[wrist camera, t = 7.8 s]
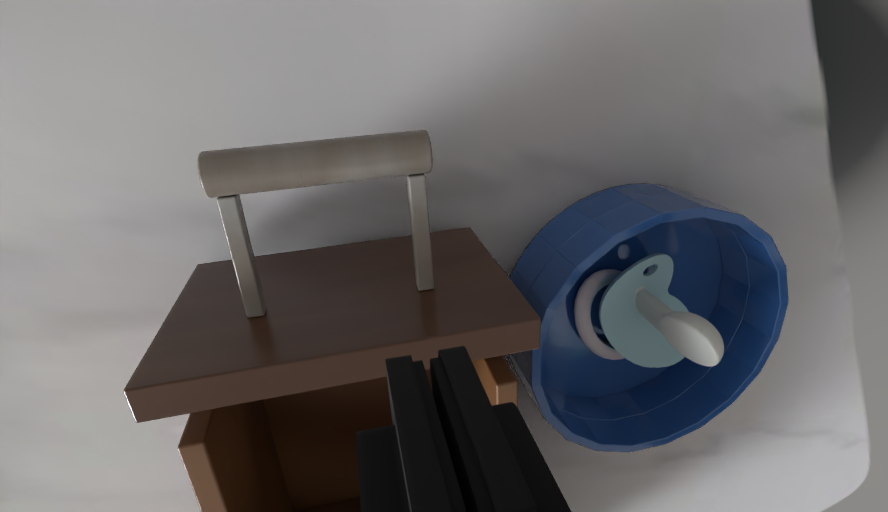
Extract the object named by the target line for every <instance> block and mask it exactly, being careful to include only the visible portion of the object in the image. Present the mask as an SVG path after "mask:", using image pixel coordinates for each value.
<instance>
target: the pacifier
mask: <svg viewBox="0 0 888 512" xmlns="http://www.w3.org/2000/svg"><path fill="white" fill-rule="evenodd" d="M654 264H655V266H654V268H653V269H652V270H651V271H650V272H648V273H646V274H643V272H644V270H645V269H646V268H647V267H649V266H651V265H654ZM673 266H674V265H673V260H672V259H671V257H670V256H668V255H666V254H663V253H655V254H651V255H649V256H647V257H645V258H643V259H641V260H639V261H637V262H636V263H634V264H633V265H631V266H630V267H628V268H627V269H625V270H624V271H623V272H621V271H618V270H615V269H607V270H600V271H598V272H595V273H593V274H592V275H590V276H589V277H588V278H587V279H585V281H584V282H583V284H582V285H581V287H580V288H579V290H578V293H577V296H576V298H575V305H574V317H575V325H576V328H577V330H578V333H579V336H580V337H581V339H582V341H583V342H584V344H585V345H586V346H587V347H588V348H589V349H590V350H591V351H592V352H593V353H595V354H597V355H598V356H600V357H602V358H606V359H610V360H619V359H623V358H626V359H627V360H629V361H631V362H633V363H634V364H637V365H640V366H643V367H650V368H652V367H655V368H660V367H667V366H671V365H674V364H675V363H677V362H679V361H681V360H682V359H683V358H684V357H686V358H688V359H690V360H691V361H693V362H695V363H697V364H700V365H703V366H715V365H717V364H718V363H719V362H720V360H721V358H722V357H723V353H724V344H723V340H722V337H721V335H720V333H719V332H718V330H717V329H716V328H715V327H714V326H713V325H712V324H711V323H710V322H709V321H707V320H706V319H704V318H703V317H701V316H699V315H696V314H693V313H690V312H689V311H688V310H687V308H686V307H685V305H684V304H683V303H682V302H681V301H680V300H678V299H677V298H676V297H674V296H672V295H670V294H669V293H668V287H669V285H670V282H671V279H672V275H673ZM609 284H610V285H609ZM606 285H609V286H608V287H607V289H606V290H605V292H604V294H603V296H602V299H601V302H600V306H599V319H600V324H601V327H602V329H603V332H604V334H605V336H606V337H607V339H608V341H609V342H610V343H606V342H604V341H602V340H601V339H599V338H598V337H597V335H596V333H595V332H594V329H593V326H592V323H591V316H590V313H591V305H592V302H593V299H594V297H595V295H596V294H597V292H598V291H599V290H600V289H601V288H603V287H604V286H606Z"/></svg>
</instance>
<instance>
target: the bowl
mask: <svg viewBox="0 0 888 512" xmlns="http://www.w3.org/2000/svg"><path fill="white" fill-rule="evenodd" d="M655 253H663V254H666V255H668V256H670V257H671V259H672V260H673V265H674V266H673V275H672V279H671V282H670V285H669V287H668V293H669V294H670V295H672V296H674V297H676V298H677V299H678V300H680V301H681V302H682V303H683V304H684V305H685V307H686V308H687V310H688V311H689V312H690V313H693V314H696V315H699V316H701V317H703V318H704V319H706V320H707V321H709V322H710V323H711V324H712V325H713V326H714V327H715V328H716V329H717V330H718V332H719V333H720V335H721V337H722V340H723V344H724V353H723V357H722V358H721V360H720V362H719V363H718V364H717V365H715V366H703V365H700V364H697V363H695V362H693V361H691V360H690V359H688V358H686V357H684V358H683V359H682V360H681V361H679V362H677V363H675V364H674V365H671V366H667V367H660V368H655V367H652V368H650V367H643V366H640V365H637V364H634V363H633V362H631V361H629V360H627V359H626V358H623V359H619V360H610V359H606V358H602V357H600V356H598V355H597V354H595V353H593V352H592V351H591V350H590V349H589V348H588V347H587V346H586V345H585V344H584V342H583V341H582V339H581V337H580V336H579V333H578V330H577V328H576V325H575V317H574V305H575V298H576V296H577V293H578V290H579V288H580V287H581V285H582V284H583V282H584V281H585V279H587V278H588V277H589V276H590V275H592V274H593V273H595V272H598V271H600V270H607V269H615V270H618V271H621V272H623V271H624V270H625V269H627V268H628V267H630V266H631V265H633V264H634V263H636V262H637V261H639V260H641V259H643V258H645V257H647V256H649V255H651V254H655ZM654 266H655V264H654V265H651V266H649V267H647V268H646V269H645V270H644V272H643V274H646V273H648V272H650V271H651V270H652V269H653V268H654ZM510 280H511V281H512V282H513V284H514V285H515V286H516V287H517V289H518V290H519V291H520V293H521V294H522V295H523V296H524V298H525V299H526V300H527V301H528V303H529V304H530V305H531V307H532V308H533V309H534V310H535V312H536V313H537V314H538V316H539V317H540V318H541V332H540V348H539V349H535V350H529V351H524V352H518V353H513V354H509V356H510V358H511V360H512V362H513V365H514V367H515V370H516V371H517V373H518V375H519V376H520V378H521V380H522V382H523V383H524V385H525V387H526V389H527V390H528V392H529V394H530V396H531V397H532V399H533V401H534V402H535V404H536V406H537V408H538V409H539V411H540V413H541V415H542V416H543V418H544V419H545V420H546V421H547V422H548V423H549V424H550V425H551V426H552V427H553V428H555V429H556V430H557V431H558V432H559V433H560V434H561V435H562V436H563V437H564V438H565V439H566V440H568V441H571V442H574V443H576V444H579V445H582V446H584V447H587V448H589V449H592V450H595V451H608V452H634V451H638V450H643V449H647V448H651V447H656V446H660V445H664V444H667V443H669V442H672V441H674V440H676V439H678V438H680V437H682V436H684V435H686V434H688V433H690V432H692V431H694V430H696V429H699V428H700V427H702V426H703V425H705V424H706V423H707V422H709V421H710V420H711V419H713V418H714V417H715V416H717V415H718V414H719V413H721V412H722V411H723V410H724V409H726V408H727V407H728V406H730V405H731V404H732V403H733V402H734V401H735V400H736V399H737V398H738V397H739V396H740V395H741V393H742V392H743V391H744V390H745V389H746V388H747V387H748V385H749V384H750V383H751V382H752V381H753V380H754V379H755V378H756V376H757V375H758V374H759V372H760V371H761V370H762V368H763V366H764V364H765V362H766V361H767V359H768V357H769V355H770V353H771V352H772V350H773V348H774V346H775V344H776V343H777V341H778V339H779V336H780V332H781V329H782V325H783V321H784V317H785V313H786V309H787V306H788V286H787V270H786V265H785V263H784V261H783V259H782V257H781V255H780V253H779V251H778V249H777V247H776V245H775V243H774V241H773V239H772V237H771V236H770V235H769V234H767V233H766V232H765V231H764V230H762V229H761V228H760V227H758V226H757V225H756V224H754V223H753V222H752V221H750V220H749V219H748V218H747V217H745V216H744V215H742V214H739V213H737V212H734V211H732V210H729V209H727V208H724V207H722V206H720V205H717V204H715V203H712V202H710V201H707V200H705V199H702V198H700V197H698V196H695V195H693V194H690V193H688V192H685V191H681V190H677V189H674V188H670V187H666V186H662V185H657V184H646V183H640V184H627V185H622V186H616V187H611V188H608V189H605V190H602V191H599V192H596V193H594V194H592V195H590V196H588V197H586V198H583V199H581V200H579V201H578V202H576V203H575V204H573V205H571V206H570V207H568V208H567V209H565V210H564V211H562V212H561V213H560V214H559V215H557V216H556V217H555V218H553V219H552V220H551V221H550V222H549V223H548V224H547V225H546V226H545V227H544V228H543V229H542V230H541V231H540V232H539V233H538V234H537V235H536V236H535V238H534V239H533V240H532V241H531V243H530V244H529V245H528V246H527V248H526V249H525V251H524V252H523V254H522V256H521V257H520V259H519V260H518V262H517V264H516V266H515V268H514V270H513V272H512V274H511V277H510ZM609 285H610V284H609ZM609 285H606V286H604V287H603V288H601V289H600V290H599V291H598V292H597V294H596V295H595V297H594V299H593V302H592V305H591V313H590V316H591V323H592V326H593V329H594V332H595V333H596V335H597V337H598V338H599V339H601V340H602V341H604V342H606V343H610V342H609V341H608V339H607V337H606V336H605V334H604V332H603V329H602V327H601V324H600V319H599V306H600V302H601V299H602V296H603V294H604V292H605V290H606V289H607V287H608V286H609Z"/></svg>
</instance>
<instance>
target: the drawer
mask: <svg viewBox="0 0 888 512" xmlns="http://www.w3.org/2000/svg"><path fill="white" fill-rule="evenodd" d="M431 170H432V148H431V142H430V137H429V134H428V132H427V131H426V130H416V131H406V132H396V133H386V134H376V135H366V136H355V137H345V138H335V139H325V140H315V141H305V142H295V143H285V144H275V145H264V146H254V147H244V148H234V149H224V150H214V151H204V152H201V153H199V155H198V173H199V178H200V182H201V185H202V187H203V190H204V192H205V193H206V195H207V196H208V197H211V198H213V197H218V198H217V204H218V208H219V212H220V216H221V220H222V224H223V227H224V231H225V235H226V239H227V243H228V247H229V250H230V254H231V258H232V260H226V261H219V262H212V263H204V264H198V265H197V267H196V268H195V270H194V272H193V273H192V275H191V277H190V278H189V280H188V282H187V284H186V285H185V287H184V289H183V290H182V292H181V294H180V295H179V297H178V299H177V301H176V302H175V304H174V306H173V307H172V309H171V311H170V312H169V314H168V316H167V317H166V319H165V321H164V323H163V324H162V326H161V328H160V329H159V331H158V333H157V334H156V336H155V338H154V340H153V341H152V343H151V345H150V346H149V348H148V350H147V351H146V353H145V355H144V356H143V358H142V360H141V362H140V363H139V365H138V367H137V368H136V370H135V372H134V373H133V375H132V377H131V379H130V380H129V382H128V384H127V385H126V387H125V389H124V395H125V397H126V399H127V402H128V404H129V407H130V409H131V412H132V414H133V416H134V419H135V421H136V422H137V423H139V422H145V421H150V420H156V419H161V418H166V417H172V416H177V415H183V414H188V413H190V416H189V418H188V421H187V424H186V426H185V429H184V432H183V434H182V437H181V440H180V443H179V445H178V451H179V453H180V456H181V459H182V461H183V464H184V467H185V469H186V472H187V475H188V477H189V480H190V483H191V485H192V488H193V491H194V493H195V496H196V499H197V501H198V504H199V506H200V509H201V512H361V505H360V490H359V475H358V459H357V444H356V432H358V431H363V430H368V429H374V428H379V427H384V426H389V425H393V420H392V413H391V405H390V397H389V389H388V381H387V373H386V365H385V359H389V358H394V357H400V356H406V355H411V357H412V360H413V361H419V360H422V361H423V364H424V367H425V371H426V374H427V378H428V381H429V385H430V388H431V391H432V386H431V374H430V358H436V357H438V351H439V350H441V349H447V348H453V347H459V346H465V348H466V349H467V352H468V354H469V356H470V358H471V361H472V363H473V365H474V367H475V369H476V372H477V374H478V376H479V378H480V381H481V383H482V385H483V387H484V390H485V392H486V394H487V396H488V398H489V401H490V403H491V405H492V406H493V405H498V404H503V403H508V402H513V403H514V404H515V405H516V406H517V408H518V381H517V379H516V378H515V376H514V374H513V372H512V371H511V369H510V367H509V365H508V363H507V362H506V360H505V358H504V356H503V355H507V354H513V353H518V352H524V351H529V350H535V349H539V348H540V332H541V318H540V317H539V316H538V314H537V313H536V312H535V310H534V309H533V308H532V307H531V305H530V304H529V303H528V301H527V300H526V299H525V298H524V296H523V295H522V294H521V293H520V291H519V290H518V289H517V287H516V286H515V285H514V284H513V282H512V281H511V280H510V278H509V277H508V276H507V275H506V273H505V272H504V271H503V269H502V268H501V267H500V266H499V264H498V263H497V262H496V260H495V259H494V258H493V257H492V255H491V254H490V253H489V251H488V250H487V249H486V248H485V246H484V245H483V244H482V242H481V241H480V240H479V239H478V237H477V236H476V235H475V233H474V232H473V231H472V230H471V228H461V229H454V230H447V231H439V232H432V233H430V225H429V213H428V200H427V187H426V176H425V174H424V173H429V172H431ZM405 175H406V181H407V192H408V202H409V213H410V224H411V234H412V235H410V236H403V237H395V238H388V239H381V240H373V241H366V242H359V243H351V244H344V245H337V246H329V247H322V248H314V249H307V250H300V251H292V252H285V253H278V254H270V255H263V256H256V257H254V254H253V250H252V246H251V242H250V237H249V233H248V229H247V225H246V221H245V217H244V212H243V208H242V204H241V200H240V196H239V194H248V193H257V192H265V191H274V190H283V189H291V188H300V187H309V186H318V185H326V184H335V183H344V182H353V181H361V180H370V179H379V178H388V177H396V176H405Z"/></svg>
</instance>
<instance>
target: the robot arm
mask: <svg viewBox="0 0 888 512" xmlns="http://www.w3.org/2000/svg"><path fill="white" fill-rule="evenodd" d="M385 365H386V373H387V381H388V389H389V397H390V405H391V413H392V420H393V425H389V426H384V427H379V428H374V429H368V430H363V431H358V432H356V444H357V459H358V475H359V490H360V505H361V512H571V510H570V508H569V506H568V504H567V502H566V500H565V499H564V497H563V495H562V493H561V491H560V489H559V487H558V485H557V483H556V481H555V479H554V477H553V475H552V473H551V471H550V470H549V468H548V466H547V464H546V462H545V460H544V458H543V456H542V454H541V452H540V450H539V448H538V446H537V444H536V443H535V441H534V439H533V437H532V435H531V433H530V431H529V429H528V427H527V425H526V423H525V421H524V419H523V417H522V415H521V414H520V412H519V410H518V408H517V406H516V405H515V404H514V403H513V402H508V403H503V404H498V405H493V406H492V405H491V403H490V401H489V398H488V396H487V394H486V392H485V390H484V387H483V385H482V383H481V381H480V378H479V376H478V374H477V372H476V369H475V367H474V365H473V363H472V361H471V358H470V356H469V354H468V352H467V349H466V348H465V346H459V347H453V348H447V349H441V350H439V351H438V357H436V358H430V374H431V386H432V391H431V388H430V385H429V381H428V378H427V374H426V371H425V367H424V364H423V361H422V360H419V361H413V360H412V357H411V355H406V356H400V357H394V358H389V359H385Z"/></svg>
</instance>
